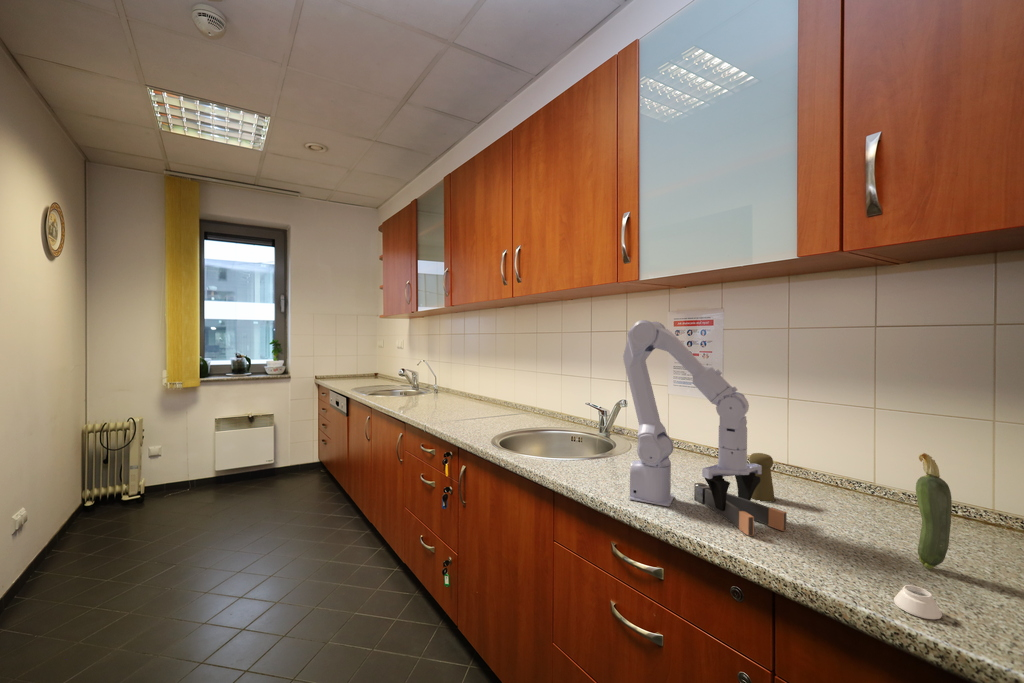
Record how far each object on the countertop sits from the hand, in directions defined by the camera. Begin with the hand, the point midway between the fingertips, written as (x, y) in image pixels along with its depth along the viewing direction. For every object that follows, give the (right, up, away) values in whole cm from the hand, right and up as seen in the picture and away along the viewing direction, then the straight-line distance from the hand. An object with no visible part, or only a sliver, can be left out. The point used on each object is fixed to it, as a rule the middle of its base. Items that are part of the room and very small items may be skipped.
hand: (731, 507), depth 97 cm
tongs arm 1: (-2, -2, -2) cm, 3 cm away
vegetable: (+23, -2, -23) cm, 32 cm away
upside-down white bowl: (+10, -2, -34) cm, 35 cm away
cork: (+13, -2, +12) cm, 18 cm away
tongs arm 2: (+3, -2, 0) cm, 3 cm away
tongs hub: (-3, -2, +9) cm, 10 cm away
